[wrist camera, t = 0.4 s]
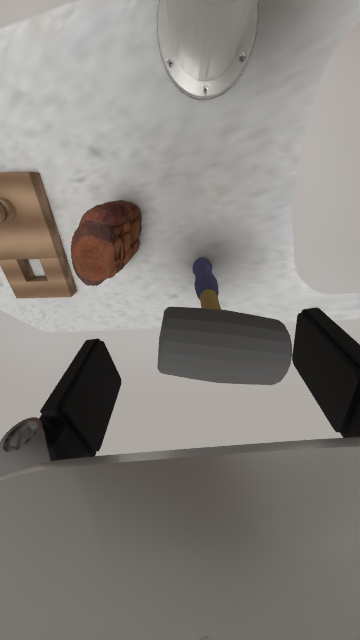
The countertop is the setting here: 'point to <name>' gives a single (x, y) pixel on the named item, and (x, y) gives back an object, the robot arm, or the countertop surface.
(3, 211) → the dowel
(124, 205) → the wooden figurine
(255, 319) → the rubber mallet
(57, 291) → the board
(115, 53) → the countertop surface
